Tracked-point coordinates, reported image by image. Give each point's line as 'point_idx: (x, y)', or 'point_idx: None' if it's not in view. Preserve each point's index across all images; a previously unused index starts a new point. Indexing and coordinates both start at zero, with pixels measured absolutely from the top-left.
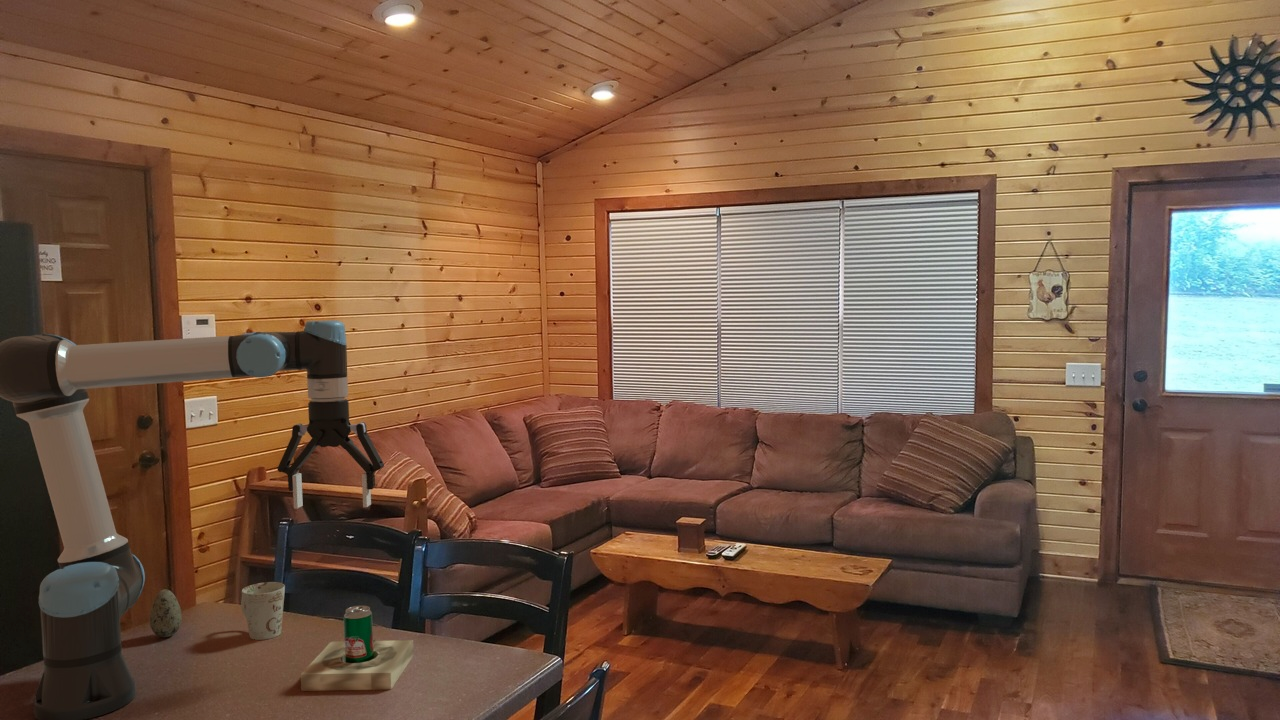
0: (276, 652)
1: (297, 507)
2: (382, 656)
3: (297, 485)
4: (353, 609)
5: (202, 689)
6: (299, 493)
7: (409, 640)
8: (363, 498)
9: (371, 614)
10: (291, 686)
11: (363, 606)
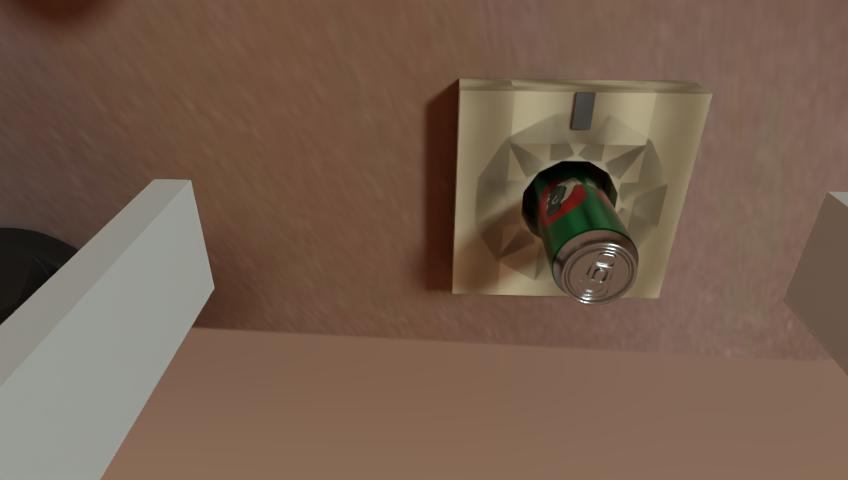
0: (281, 32)
1: (209, 292)
2: (630, 208)
3: (112, 432)
4: (585, 274)
5: (229, 252)
6: (147, 317)
7: (701, 96)
8: (835, 352)
9: (637, 264)
10: (421, 249)
11: (614, 254)
